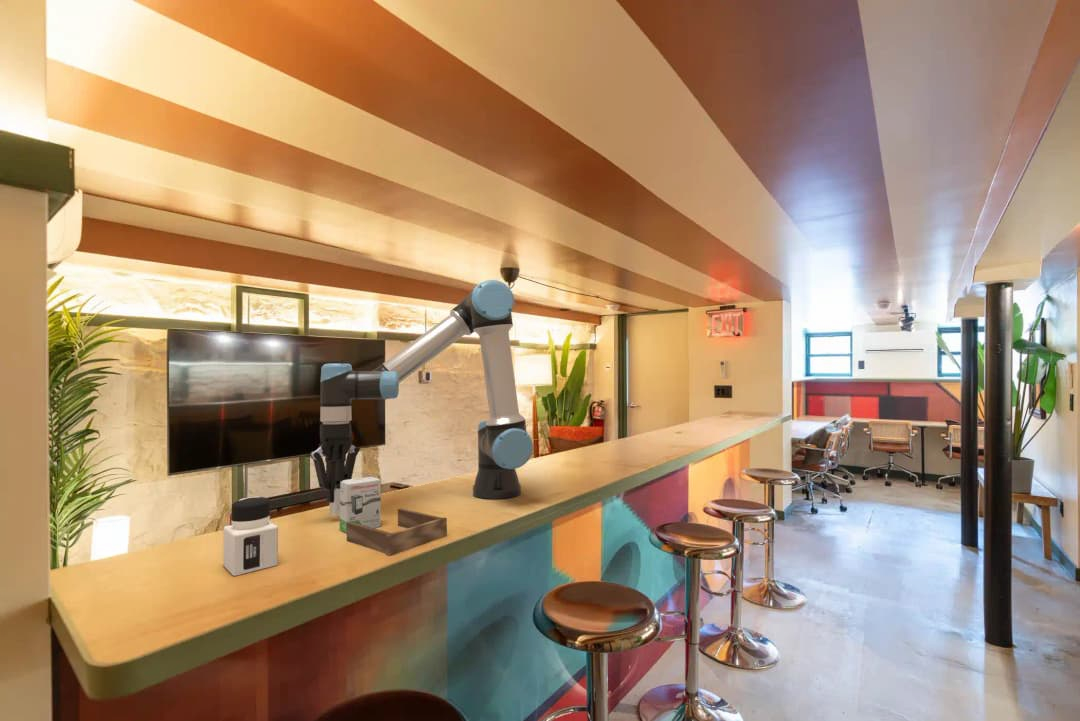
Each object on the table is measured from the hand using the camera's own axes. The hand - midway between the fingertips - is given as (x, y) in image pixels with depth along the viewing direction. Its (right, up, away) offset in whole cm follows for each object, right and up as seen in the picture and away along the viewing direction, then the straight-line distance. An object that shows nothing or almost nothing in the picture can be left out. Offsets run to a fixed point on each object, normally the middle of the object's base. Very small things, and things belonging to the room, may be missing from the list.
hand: (334, 514), depth 127 cm
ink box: (+9, -2, -7) cm, 11 cm away
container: (-4, -1, -31) cm, 31 cm away
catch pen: (+20, -1, -15) cm, 25 cm away
